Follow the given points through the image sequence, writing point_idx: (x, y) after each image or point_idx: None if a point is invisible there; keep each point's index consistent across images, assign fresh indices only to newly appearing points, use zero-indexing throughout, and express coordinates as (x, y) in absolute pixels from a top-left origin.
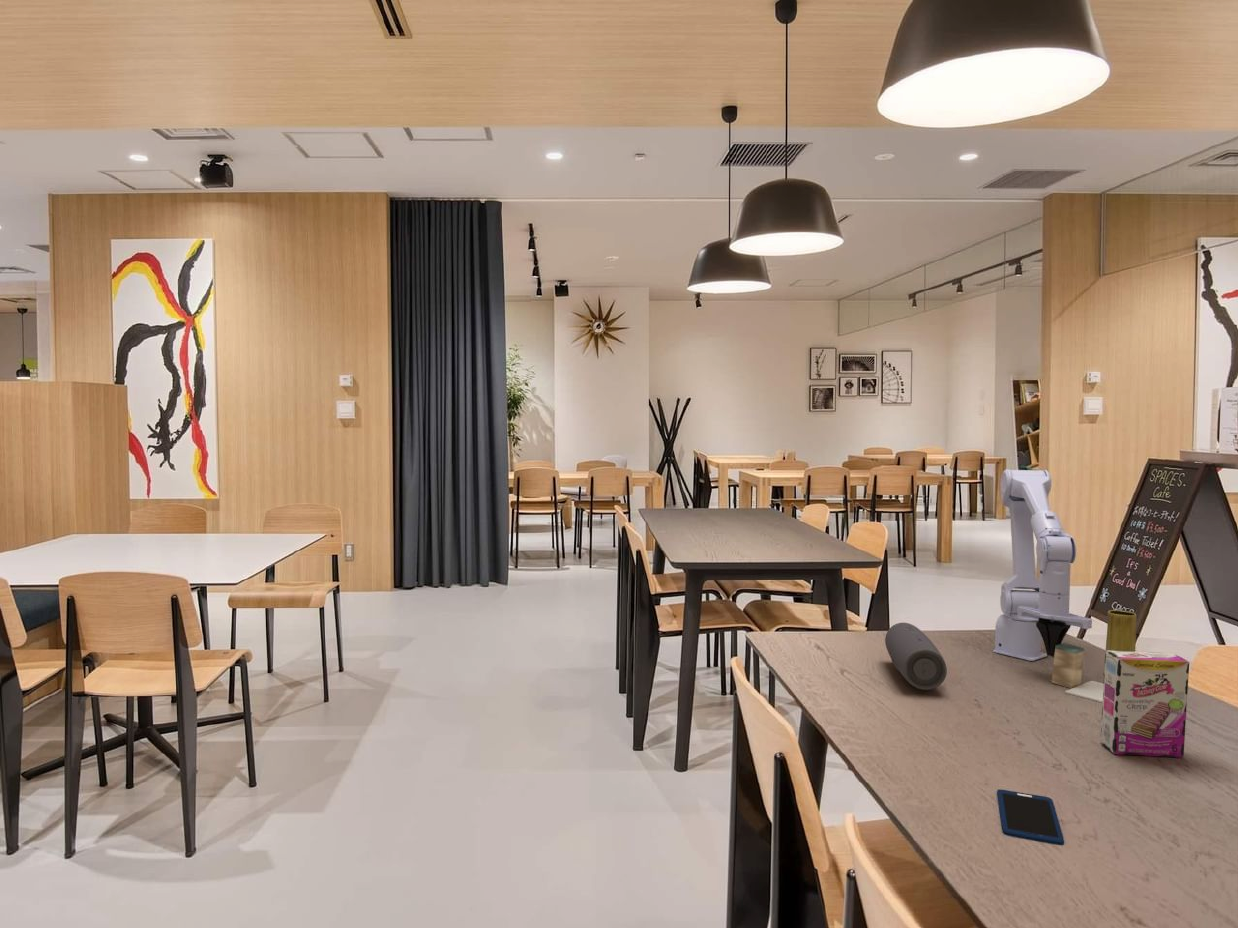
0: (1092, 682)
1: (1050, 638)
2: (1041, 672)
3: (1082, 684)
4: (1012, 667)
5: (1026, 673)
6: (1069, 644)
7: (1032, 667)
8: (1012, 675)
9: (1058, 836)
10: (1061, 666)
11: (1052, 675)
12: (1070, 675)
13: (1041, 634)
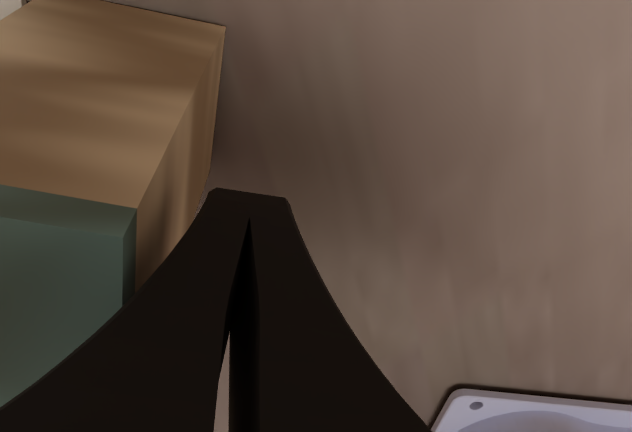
0: None
1: (209, 341)
2: (366, 244)
3: None
4: (555, 227)
5: (452, 157)
6: None
7: (436, 302)
8: (549, 25)
9: None
10: (98, 78)
11: (214, 47)
12: (17, 31)
13: (385, 389)
